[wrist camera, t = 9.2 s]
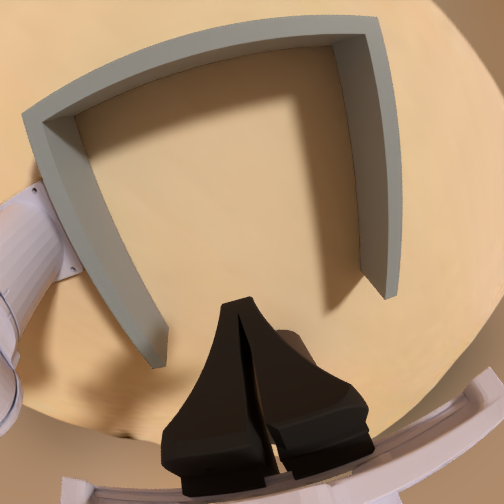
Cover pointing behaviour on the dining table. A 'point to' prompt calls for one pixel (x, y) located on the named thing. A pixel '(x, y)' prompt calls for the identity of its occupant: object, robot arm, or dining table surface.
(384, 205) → the gray rectangular arch
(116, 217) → the dining table surface
